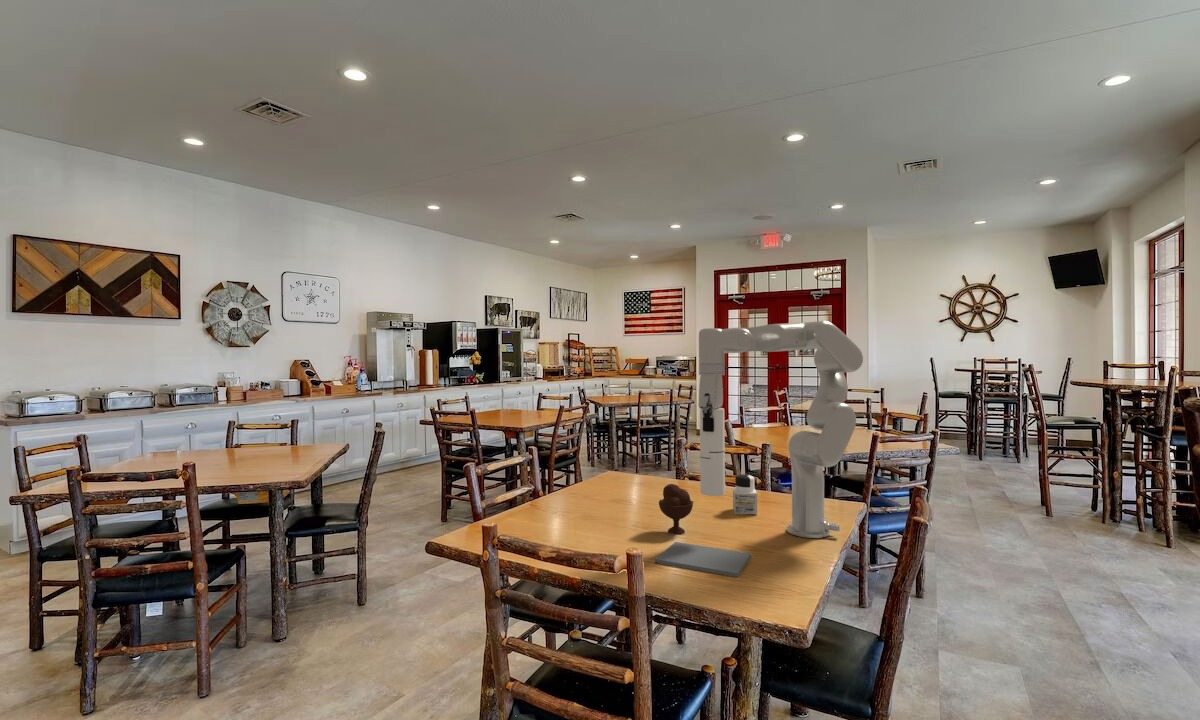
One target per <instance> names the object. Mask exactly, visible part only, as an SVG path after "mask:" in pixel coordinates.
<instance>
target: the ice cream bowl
mask: <svg viewBox="0 0 1200 720" xmlns="http://www.w3.org/2000/svg"><path fill="white" fill-rule="evenodd" d="M662 496H663V499H659V501H658V506H659V509H660V511H661V512H662V513H663V515H664V516H666V517H667V518H669V519H671V520H672V522H673V526H671V527H670V528H668V530H667V533H668V534H670V535H675V536H676V535H677V536H678V535H683V534H685V533H686V531H685V529H684V528H682V527H680V520H682V519H685V518H686V517H687V516H689V515H690V514H691V512H692V510H693V506H694V501H692V500H691V495H690V494H689V492H688V491H687V490H685V489H684V488H681V487H680V486H679V485H677V484H675V483H670V484H667V485H665V486H664V488H663V490H662Z"/></svg>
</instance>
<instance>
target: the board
mask: <svg viewBox="0 0 1200 720" xmlns="http://www.w3.org/2000/svg"><path fill="white" fill-rule="evenodd" d="M751 559H752V552H751V553H750V552H744V551H738V550H732V549H725V548H719V547H711V546H706V545H705V546H704V545H699V544H693V543H688V542H680V541H674V542H673V543H672V544H670V546H668V547H667V548H666V549H665V550H664V551H663V552H662V553H660V554H659V555H658V556H657V557H656V558H654V563H655V562H657V563H656V564H659V563H662V564H661V565H665V564H666V566H671V565H672V566H671V567H676V566H677V568H682V569H683V568H684V569H688V570H693V571H694V570H695V571H700V572H704V573H705V572H706V573H710V572H711V574H718V575H723V576H728V577H734V578H738V577H739V576H740V574H741V573H742V571H743V570H744V568H746V565H747V564H748V563H749V561H750V560H751Z"/></svg>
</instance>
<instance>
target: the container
mask: <svg viewBox="0 0 1200 720" xmlns="http://www.w3.org/2000/svg"><path fill="white" fill-rule="evenodd" d="M732 489H733V491H732V497H733V499H732V504H733V505H732V507H733V513H734V514H735V515H742V514H757V515H758V493H757V491H756V488H755V477H754V476H752V475H750V474H738V475H736V476H735V487H733V488H732Z"/></svg>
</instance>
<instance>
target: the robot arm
mask: <svg viewBox="0 0 1200 720" xmlns="http://www.w3.org/2000/svg"><path fill="white" fill-rule="evenodd" d="M814 349H815V351H814V355H813V362H814V365H815V368H816V369H817V372H818V375H819V386H818V388H817V391H816V393H815V396H814V398H813V399H812V402H811V404H810V406H809V408H808V410H807V413H806V423H807V425H808V426H809V427H810V428H812V429H814V430H817V431H821V432H820V433H819V432H815V431H810V430H809V431H808V430H800V431H796V433H794V434H793V435H792V436H790V439H789V442H788V454H789V459H790V464H791V523H790V524H788V525H787V526H786V531H787V532H788V533H789V534H791V535H793V536H797V537H800V538H808V539H822V538H823V537H824V538H827V537H828V536H830V534H831V532H830V531H834V532H840V530H841V527H840V526H841V525H840V524H837V523H836V522H828V521H827V517H825V474H824V469H823V467H824V468H831V467H834V466H836V465H837V464H838V463H839V462H840V461H841V459H842V458H843V456H844V453H845V451H846V449H847V447H848V445H849V442H850V440H851V438H852V436H853V433H854V431H855V428H856V425H857V415H856V413H855V412H856V411H855V410H854V408H853V407H852V406H851V405H849V404H847V403H844V402H845V400H846V397H847V394H848V391H849V389H848V387H849V386H848V381H847V378H846V375H845V373H853V372H856V371H858V370H859V369H860V368H861V367H862V365H863V361H864V356H863V352H862V350H861V348H859V347H858V345H857V344H856V343H855V342H854V341H852V339H850V338H849V337H848V335H846V334H845V333H844V332H843V331H842V330H841V329H840V328H838V327H837V326H836V325H835V324H833V323H831V322H830V321H827V320H818V321H816V320H815V321H805V322H804V321H803V322H787V323H773V324H772V323H771V324H765V325H759V326H751V327H731V328H730V327H729V328H724V329H723V328H717V327H716V328H714V327H713V328H712V327H711V328H702V329H700V330H699V332H698V375H699V376H700V377H699V387H698V407H699V409H700V408H701V409H703V411H702V412H703V415H702V417H703V431H704V432H714V418H713V410H714V409H716V408H722V407H723V404H724V403H723V402H724V387H723V376H725V375H726V374H725V373H726V372H725V371H726V370H725V369H726V368H725V367H726V365H725V362H726V361H725V356H726V355H725V354H740V353H744V352H764V353H765V352H766V353H772V352H789V351H802V350H803V351H804V350H814ZM710 410H711V412H710Z"/></svg>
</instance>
